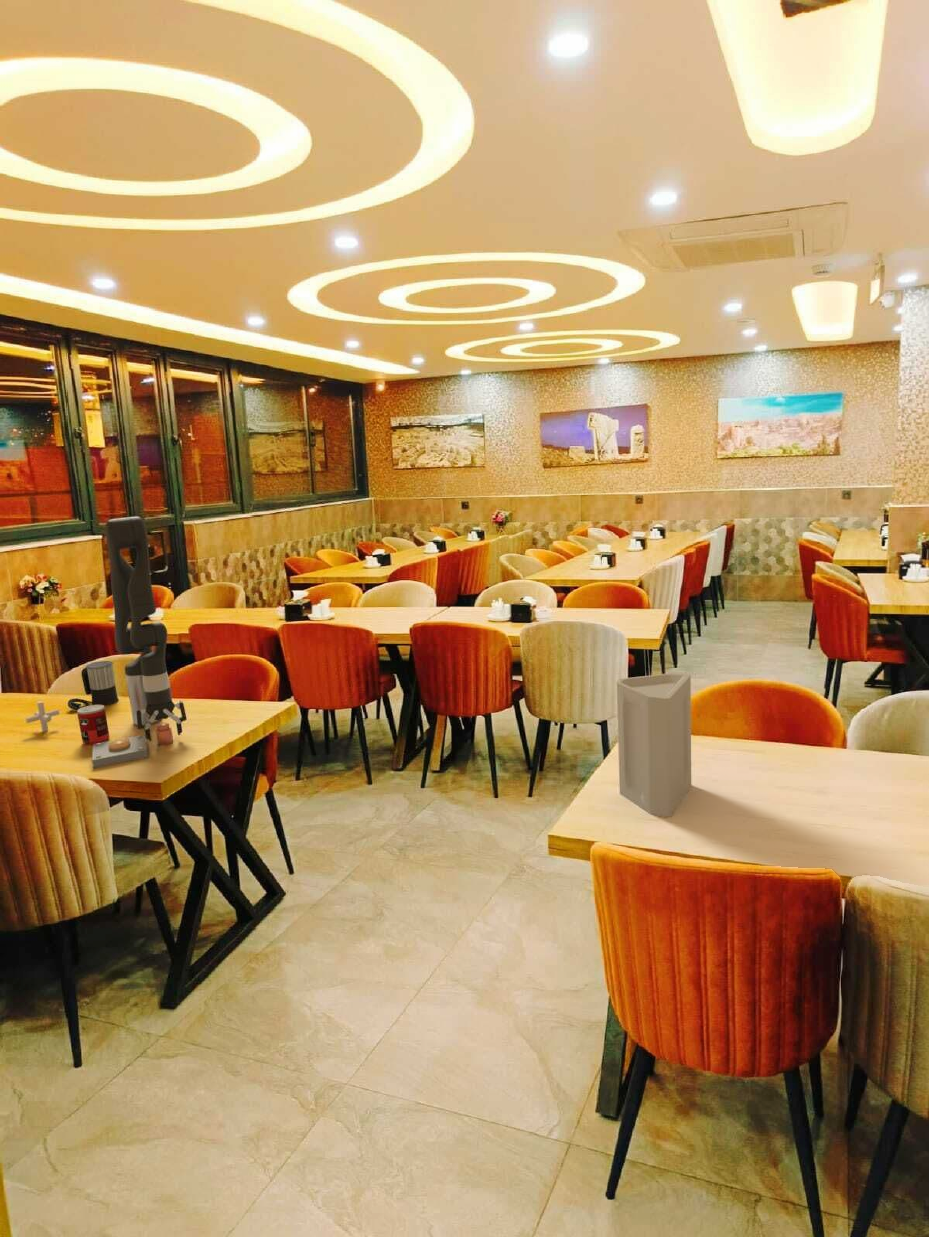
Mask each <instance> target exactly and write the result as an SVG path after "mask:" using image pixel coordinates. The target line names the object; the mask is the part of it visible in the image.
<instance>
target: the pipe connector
mask: <svg viewBox="0 0 929 1237" xmlns="http://www.w3.org/2000/svg"><path fill="white" fill-rule="evenodd" d="M58 715H60V711H59V709H54V710H51V711H45V705H44V701H38V702H37V711H35V712H34V714H33V716H29V717H26V718H25V722H26V724H30V723H33V722H37V721H40V724H41V730H42V732H48V731H49V726H48V723H50V722H52V717H55V716H58Z"/></svg>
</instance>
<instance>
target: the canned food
mask: <svg viewBox="0 0 929 1237" xmlns="http://www.w3.org/2000/svg"><path fill="white" fill-rule="evenodd" d="M82 707H83V706H82ZM76 713H77V718H78V724H79V728H80V729H79V730H80V736H81V741H82V743H83V744H84V745H85V746H93V744H96V743H102V742H107V741H110V740H109V739H110V732H109V725H108V719H107V714H106V713H107V712H106V707H105V705H104V706H103V705H92V704H91V705H89V706H86V707H83V708H80V709H78V710H77V711H76Z"/></svg>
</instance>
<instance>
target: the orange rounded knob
mask: <svg viewBox="0 0 929 1237" xmlns="http://www.w3.org/2000/svg"><path fill="white" fill-rule="evenodd" d="M155 736H156V741H157V745H158V746H168V745H171V744H173V743H174V738H173V730H172V727H171V726H170V724H169V722H161V723H158V724H157V725H156V729H155Z"/></svg>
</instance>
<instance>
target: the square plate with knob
mask: <svg viewBox="0 0 929 1237" xmlns="http://www.w3.org/2000/svg"><path fill="white" fill-rule="evenodd" d="M147 758H149V752H148V745H147V739H146V734H141V735H135V736H128V737H124V738H118V739H113V740H108V741H106V742H102V743H96V744H93V745H92V758H91V759H92V760H91V761H92V767H93V769H96V768H95V767H97V768H101V767H106V765H107V766H111V765H110V764H112V765H115V764H116V765H117V764H120V763H121V764H122V762H123V763H126V762H127V761H128V762H131V761H130V760H133V761H137V760H142V759H147Z"/></svg>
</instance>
